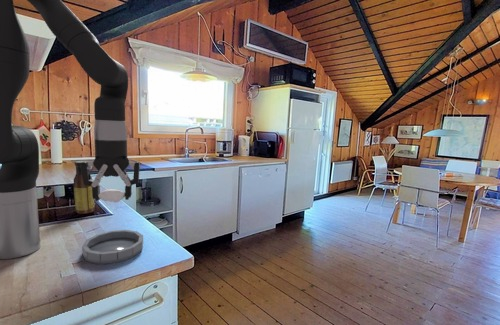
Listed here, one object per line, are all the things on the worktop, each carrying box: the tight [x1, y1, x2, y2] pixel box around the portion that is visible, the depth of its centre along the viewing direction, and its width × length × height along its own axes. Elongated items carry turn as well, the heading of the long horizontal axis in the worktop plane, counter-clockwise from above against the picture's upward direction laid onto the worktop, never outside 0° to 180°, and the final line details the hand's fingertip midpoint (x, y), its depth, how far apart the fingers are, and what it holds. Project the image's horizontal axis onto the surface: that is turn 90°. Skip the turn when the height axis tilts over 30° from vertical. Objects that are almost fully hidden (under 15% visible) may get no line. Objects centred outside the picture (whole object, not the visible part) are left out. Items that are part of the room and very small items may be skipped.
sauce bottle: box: [73, 160, 96, 215], centre depth 99 cm, size 7×6×20 cm
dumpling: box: [98, 188, 125, 203], centre depth 70 cm, size 7×5×4 cm
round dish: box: [81, 229, 144, 265], centre depth 72 cm, size 15×15×3 cm
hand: (112, 199), depth 70 cm, fingers closed on dumpling, 6 cm apart
